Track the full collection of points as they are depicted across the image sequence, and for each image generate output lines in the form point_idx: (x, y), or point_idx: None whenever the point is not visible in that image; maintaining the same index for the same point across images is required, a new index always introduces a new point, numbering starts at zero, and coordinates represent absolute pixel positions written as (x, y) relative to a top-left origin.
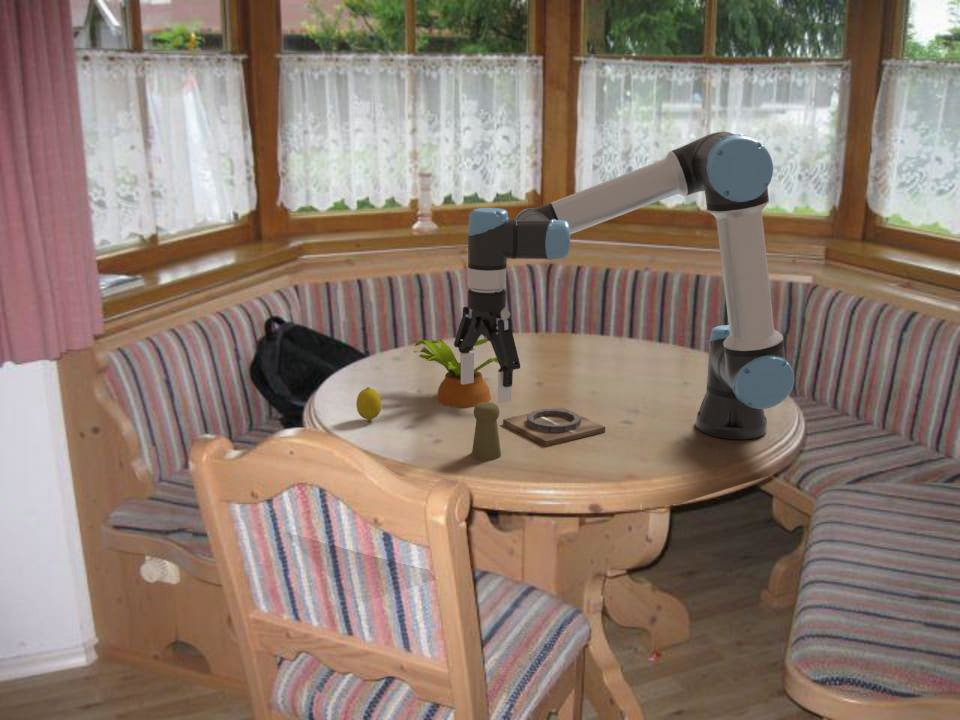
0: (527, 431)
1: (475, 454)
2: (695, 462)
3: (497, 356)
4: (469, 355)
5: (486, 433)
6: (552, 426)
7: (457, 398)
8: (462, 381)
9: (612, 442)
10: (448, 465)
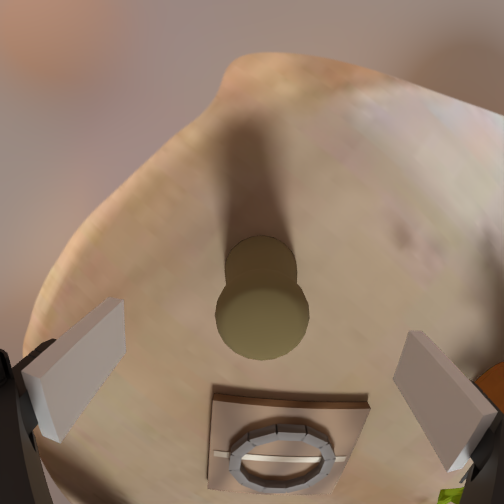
0: (283, 407)
1: (261, 238)
2: (59, 456)
3: (8, 447)
4: (455, 442)
5: (234, 271)
6: (245, 442)
7: (488, 386)
8: (416, 336)
9: (165, 463)
10: (267, 155)
